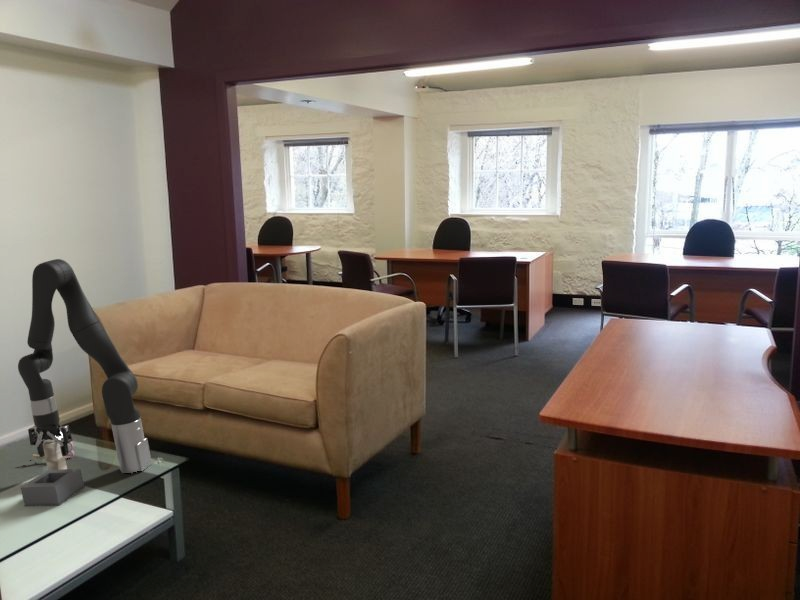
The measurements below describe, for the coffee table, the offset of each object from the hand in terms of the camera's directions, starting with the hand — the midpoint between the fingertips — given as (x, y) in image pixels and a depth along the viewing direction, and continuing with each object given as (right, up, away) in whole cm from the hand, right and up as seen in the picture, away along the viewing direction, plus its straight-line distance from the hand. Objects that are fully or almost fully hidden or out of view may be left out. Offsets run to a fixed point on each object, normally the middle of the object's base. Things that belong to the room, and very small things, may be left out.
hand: (54, 455), depth 217 cm
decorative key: (-10, -6, +14) cm, 19 cm away
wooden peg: (+1, -7, +1) cm, 7 cm away
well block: (+9, -9, -16) cm, 21 cm away
